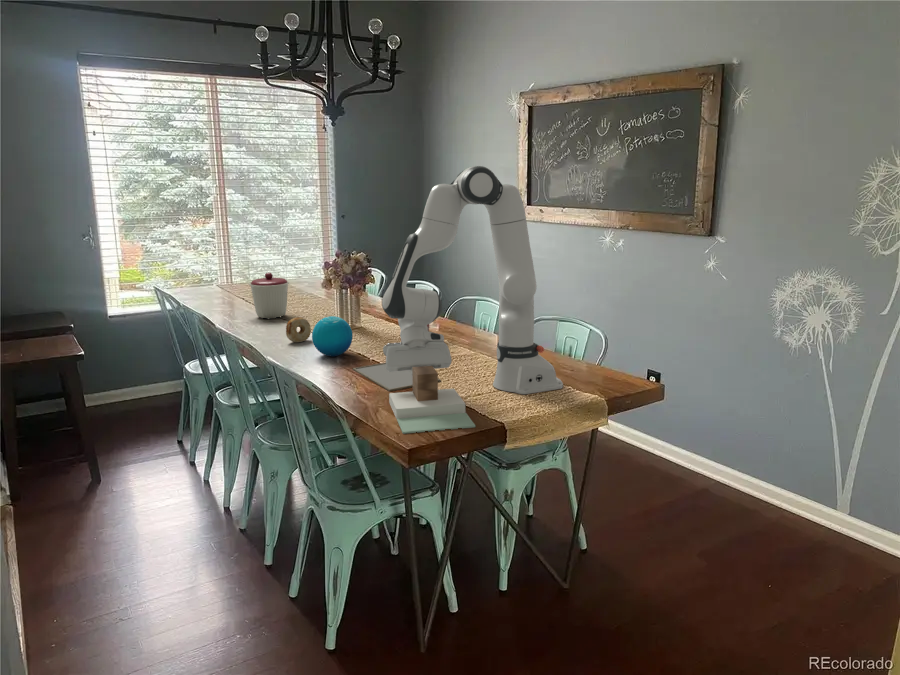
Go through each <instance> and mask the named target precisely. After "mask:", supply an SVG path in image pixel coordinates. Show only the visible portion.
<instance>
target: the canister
mask: <svg viewBox="0 0 900 675" xmlns="http://www.w3.org/2000/svg"><path fill="white" fill-rule="evenodd" d="M288 284H290V281H289V280H287V279H286V278H282V277H274V276H273V273H271V272H266V273H265V274H264V277H262V278H255V279H253V280H252V281H251V282H248V285H249V286H250V289H251V294H252V300H253V306H254V310H255V314H256V316H257V317H258V318H259V317H262V318H261V319H263V318H276V317H280V316H283V315H284V316H285V315H286V314H287V305H288V292H289V291H288V290H289V289H288V288H289V285H288ZM284 316H283V317H284ZM280 318H281V317H280ZM276 319H277V318H276Z"/></svg>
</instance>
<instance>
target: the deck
mask: <svg viewBox="0 0 900 675" xmlns="http://www.w3.org/2000/svg"><path fill="white" fill-rule="evenodd" d="M388 398H389V400H388V403H389V405H390V407H391V410H392V411H393V414H394V417H395V419H396V420H397V419H400V418H412V417H424V416H436V415H448V414H460V413H466V402H465V401H464V400H463V398H462V396H460V395H459V393H458V392H457V390H456V389H455V388H445V389H443V388H442V389H438V400H428V401H417V399H416V398H415V396H414V394H413V391H405V392H404V391H403V392H390V393H388Z"/></svg>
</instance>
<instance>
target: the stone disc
mask: <svg viewBox="0 0 900 675" xmlns="http://www.w3.org/2000/svg"><path fill="white" fill-rule="evenodd" d="M298 327H299V331H298ZM285 335H286V337H287V339H288V340H289V341H290V342H292V343H301V342H304V341H307V340H308V339H309V338H310V336H311V335H312V328H311V324H310V322H309V321H308V319H306V318H304V317H300V316H299V317H298V316H297V317H293V318H290V320H288V322H287V323H286V326H285Z"/></svg>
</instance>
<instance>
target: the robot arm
mask: <svg viewBox="0 0 900 675" xmlns="http://www.w3.org/2000/svg"><path fill="white" fill-rule="evenodd" d="M467 205H484V206H485V208H486V210H487V212H488V215H489V223H490V230H491V236H492V237H491V238H492V245H493V249H494V250H493V251H494V256H495V263H496V269H497V270H496V271H497V276H498V278H497V279H498V283H499V285H498V286H499V288H498V293H499V294H498V295H499V297H498V302H499V303H498V305H499V306H498V342H497V345H496V346H497V347H496V359H497V365H496V370H495V376H494V379H493V382H492V386H493V387H494V388H495V389H497V390H499V391H500V390H501V391H503V392H504V391H505V392H509V393H516V394H519V395H529V394H535V393H541V392H548V391H554V390H560V389H563V387H564V383H563V381H562V380H561V379H560V378H558V377H557V373H556V369H555V368H554V365H553V364H552V363H550V362H549V361H548V360H547V359H545V358H544V357H543V356H542V355H540V354H542V353H544V351H545V348H544V347H543V346H542V345H540V344H537V343H535V342H534V333H535V332H534V331H535V330H534V329H535V310H534V309H535V306H534V304H535V303H534V302H535V300H534V296H535V294H536V292H537V280H536V274H535V268H534V267H535V265H534V260H533V256H532V255H533V254H532V249H531V243H530V236H529V235H530V234H529V229H528V223H527V216H526V209H525V206H524V202H523V199H522V195H521V193H520V190H519V188H517V187H516V186H515V185H513V184H508V183H507V184H503V183H502V182H501V181H500V180H499V178H498V177H497V176H496V175H495V173H494V172H493V171H492V170H490V168H487V167H485V166H483V165H482V166H481V165H473V166H470V167H467V168H466V169H464V170H462V171H461V172H459V174H457V176H456V177H455V179H453V181H452V182H451V183H450V184H448V183H439V184H436V185H434V186H433V187H432V188H431V190H430V192H429V195H428V197H427V199H426V203H425V206H424V210H423V214H422V219H421V222H420V224H419V226H418V228H417V229H416V231H415V232H414V233H411V234H409V235H408V237H407V238H406V241H405V242H404V245H403V246H402V249H401V253H400V255H399V256H398V259H397V262H396V265H395V268H394V271H393V273H392V276H391V279H390V281H389V284H388V285H387V287H386V289H385V290H384V293H383V296H382V299H381V307H382V309H383V311H384V313H385V314H386V315H387V316H388V317H389V318H390V319H397V322H398V326H399V328H400V332H399V335H400V336H399V337H400V342H399V341H398V342H388V343H386V344H385V345H384V346H383V347H382V353H383V356H385V363H386V369H387V370H388V371H389V372H393V371H408V370H411V373H412V367H422V366H433V368H434V369H435V370H437V369H448V368H450V367H451V364H452V354H451V350H450V347H449V346H448V344H447V343H446V342H445V336H444V334H441V333H436V332H432V331H430V330H429V331H428V330H427V325H428V324H429V325H430V324H432V323H434V321H436V320H437V319H438V318H439V317H440V316H441V314H442V311H443V302H442V298H441V296H440V294H439V293H438V292H437V291H436V290H435V291H434V290H430V289H424V288H416V287H408V286H407V284H408V281H409V278H410V276H411V273H412V270H413V268H414V265H415V264H416V261H418V259H420V258H421V257H422V256H425V255H427V254H432V253H437V252H441V251H443V250H445V249H447V248H448V247H449V246H451V245H452V244H453V243H454V241H455V238H456V236H457V233H458V227H459V223H460V216H461V214H462V211H463V209H464V208H465V207H466V206H467ZM539 353H540V354H539Z"/></svg>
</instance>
